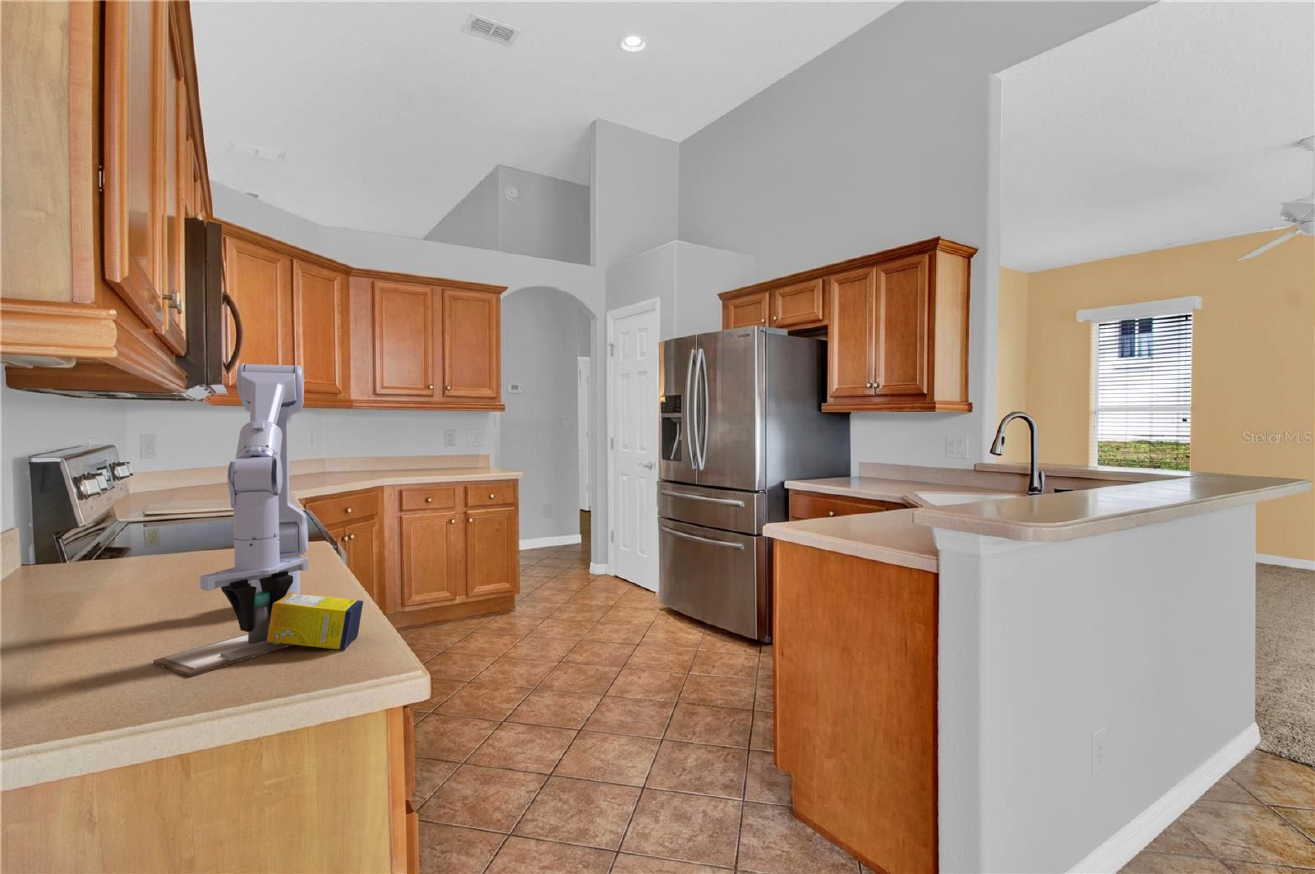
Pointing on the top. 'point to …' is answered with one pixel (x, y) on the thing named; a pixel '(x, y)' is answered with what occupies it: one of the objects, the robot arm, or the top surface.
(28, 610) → the top surface
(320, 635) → the supplement box
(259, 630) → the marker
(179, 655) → the clipboard
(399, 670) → the top surface
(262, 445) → the robot arm
